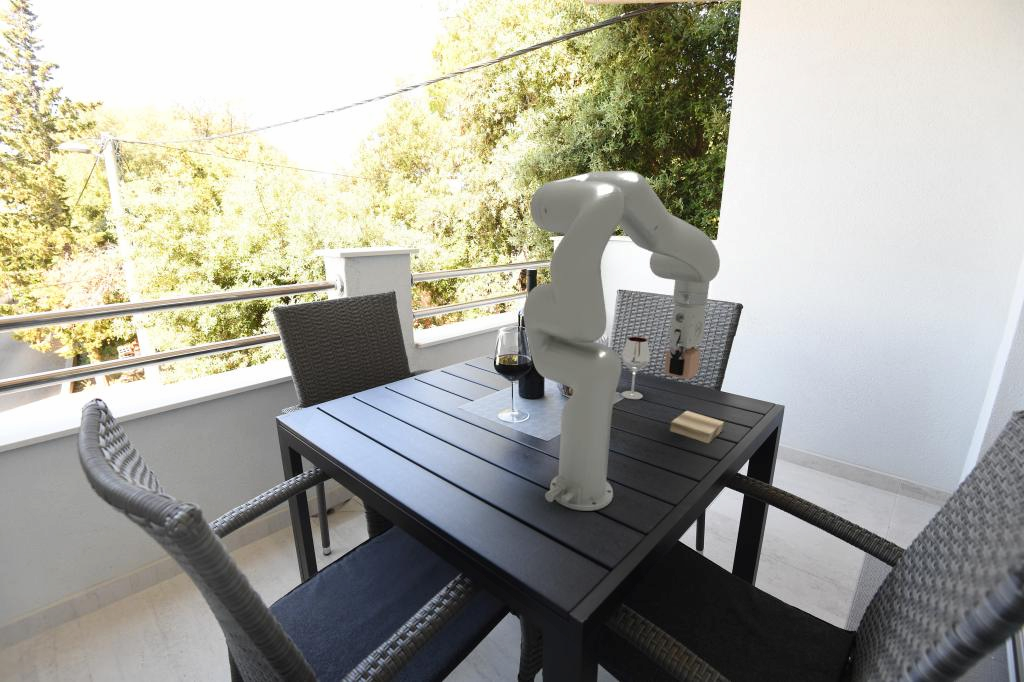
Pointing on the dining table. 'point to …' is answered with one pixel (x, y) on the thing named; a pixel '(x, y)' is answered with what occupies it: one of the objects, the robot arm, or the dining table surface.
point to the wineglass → (635, 361)
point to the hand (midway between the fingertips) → (681, 370)
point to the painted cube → (685, 363)
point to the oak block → (697, 426)
